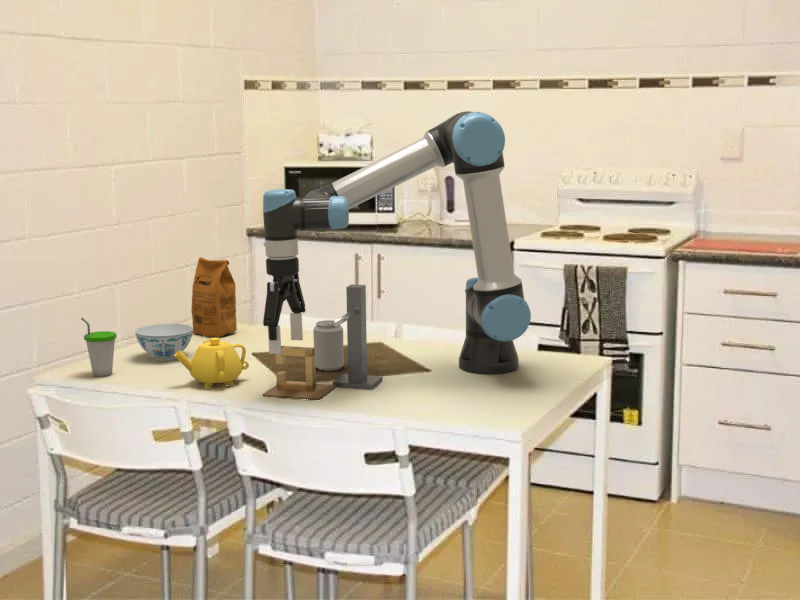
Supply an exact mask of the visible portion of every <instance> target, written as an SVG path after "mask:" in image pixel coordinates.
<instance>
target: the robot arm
mask: <svg viewBox="0 0 800 600" xmlns="http://www.w3.org/2000/svg"><path fill="white" fill-rule="evenodd" d="M505 145H506V135H505V132H504V129H503V127H502V125H501V124H500V123H499V122H498V121H497V120H496V119H495V118H494V117H493V116H491V114H487V113H485V112H480V111H467V110H466V111H461V112H459V113H456V114H454V115H451V117H449V118H448V119H446V120H444V121H442V122H440V123H439V124H438V125H436V126H434V127H432V128H430V129H428V130H426V131H425V132H424V135H423V137H421V138H420V139H418V140H415V141H414V142H412V143H410V144H408V145H405V146H403V147H402V148H399V149H398V150H396V151H393V152H392V153H390V154H387V155H386V156H384V157H380V158H379V159H378V160H375V161H374V162H371V163H370V164H368V165H366V166H364V167H362V168H360V169H359V168H358V170H355V171H354V172H352V173H349V174H347V175H346V176H343V177H342V178H339V179H338V180H335V181H334V182H331V183H330V184H327V185H326V186H324V187H322V188H320V189H314V190H312V191H309V192H308V193H307V194H306V195H305V197H297V194H296V191H295V190H294V189H288V188H287V189H279V188H278V189H270V190H266V191H265V192H264V194H263V196H262V215H263V229H264V242H263V247H265V256H266V257H267V258H266V259H265V269H266V274H267V275H268V276H272V282H271V281H267V283H266V297H265V305H264V311H263V320H262V321H263V322H262V325H263V326H264V327H267V339H268V353H269V355H270V354H272V355H276V354H281V346H282V339H281V338H282V336H281V335H282V334H281V325H279V323H280V318H281V314H282V311H283V305H284V302H285V301H286V302H287V304H288V307H289V309H290V311H291V313H289V323H290V341H304V337H303V336H304V335H303V313H306V303H305V302H306V301H305V299H304V296H303V295H304V294H303V291H302V287H301V283H300V277H299V275H300V274H299V272H300V267H299V265H300V263H299V261H300V260H299V258H298V255H299V243H298V241H299V240H298V239H299V238H298V231H314V230H317V231H318V230H320V231H321V230H332V231H335V230H338V229H346V228H347V227H348V226H349V221H350V218H349V217H350V212H349V210H351V209H353V208H355V207H356V206H359V205H361V204H363V203H365V202H367V201H368V200H371V199H373V198H374V197H377V196H378V195H381V194H383V193H384V192H387V191H389V190H391V189H393V188H395V187H396V186H399V185H401V184H403V183H404V182H407V181H410V180H411V179H413V178H415V177H418V176H419V175H422V174H424V173H425V172H427V171H430V170H431V169H434V168H435V167H441V168H444V167H447V166H449V165H451V164H453V168H454V173H455V176H456V177H458V178H459V179H461V180H462V183H463V188H464V195H465V202H466V207H467V215H468V220H469V222H468V223H469V228H470V234H471V241H472V247H473V248H472V249H473V252H474V260H475V266H476V271H477V272H476V273H477V277H471V278H468V279H467V280H466V282H465V289H464V292H465V338H464V341H463V344H462V347H461V350H460V353H459V357H458V367H459V368H460V369H461V370H463V371H465V372H470V373H476V374H489V375H490V374H504V373H509V372H514V371H516V370H518V368H519V367H520V366H519V361H520V359H519V355H518V351H517V349H516V346H515V343H514V340H517V339H518V338H520V337H521V336H522V335H524V334H525V332H526V331H527V330H528V328H529V326H530V324H531V319H532V314H531V309H530V307H529V304H528V303H527V300H525V294H524V288H523V282H522V278H520V277H518V276H517V275H516V274H515V272H514V264H513V257H512V251H511V245H510V244H511V243H510V238H509V232H508V231H509V230H508V225H507V217H506V212H505V203H504V197H503V191H502V183H501V177H500V175H501V173H502V171H503V170H504V169H505V161H504V159H505V158H504V149H505Z"/></svg>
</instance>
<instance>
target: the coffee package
mask: <svg viewBox="0 0 800 600" xmlns="http://www.w3.org/2000/svg"><path fill="white" fill-rule="evenodd" d="M228 265H230V261H229V260H227V259H219V260H218V259H217V260H216V259H215V260H209V259H206V258H204V257H202V256H200V257H199V258H198V260H197V265H196V269H195V274H194V278H193V283H192V291H191V292H192V294H191V309H190V311H191V318H192V327H193V333H192V335H202V336H204V337H206V338H207V337H209V338H210V337H211V338H221V337H223V336H225V335H227V334H232V333H235V332H236V331H237V330H238V328H237V314H236V313H237V305H236V304H237V300H236V299H237V297H236V282H235V279H234V277H233V275H232V273H231V271H230V268H229V266H228Z"/></svg>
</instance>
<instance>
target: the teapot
mask: <svg viewBox="0 0 800 600" xmlns="http://www.w3.org/2000/svg"><path fill="white" fill-rule="evenodd" d="M236 348H241V358H240V356H239V354H238V352H237V351H236ZM246 354H247V349H246V347H245V346H244V345H243V344H241V343H234V344H231V343H229V342H226V341H221V337H211V338H209V340H204V341H203V342H202V343H201V344H200V345H198V346H197V348H196V350H195V352H194V354H193V356H192V358H191V359H189V358H188V356H187V355H185V353H184V352H183V351H181V350H179V351H178V352H177V353H176V354H175V355H174V356H175V357H176V358H177V359H176V360H178V362H179V363H181V364H182V366H183V367H185V368H186V369H187V370H188V372H189V374H190V376H191V377H192V378H193V379H194V380H195V381H196V382H198V383H200V382H201V384H203V383H204V384H203V387H204V388H203V389H210V388H209V387H211V388H213V384H218V383H219V384H220V383H224V384H225V386H226V385H229V386H228V387H232V386H231V385H233V386H235V385H234V384H235V383H234V381H235V380H237V379H238V378H239V376H240V375H242V371H243V370H244V371H245V370H247V369H248V368H249V366H250V365H249V362H248V360H245V358H246V356H247V355H246ZM205 387H206V388H205Z"/></svg>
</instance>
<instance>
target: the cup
mask: <svg viewBox="0 0 800 600" xmlns="http://www.w3.org/2000/svg"><path fill="white" fill-rule="evenodd" d="M80 320H81V321H83V322H84V323H85V324H86V327H87V333H85V334H84V335H83V340H84V341H85V343H86V347H87V352H88V356H89V362H90V367H91V371H92V375H93V377H95V378H106V377H109V376H112V375H113V368H114V366H113V365H114V354H115V353H114V352H115V341H116V338H117V333H116V332H114V331H108V330H105V331H104V330H103V331H93V332H91V328H90V327H91V325H90V322H88V321H87V320H86V319H85V318H84V317H81V318H80Z"/></svg>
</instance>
